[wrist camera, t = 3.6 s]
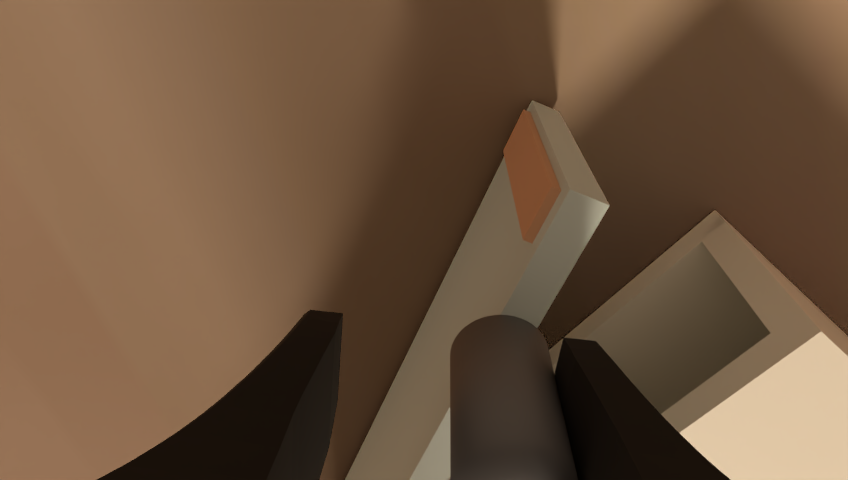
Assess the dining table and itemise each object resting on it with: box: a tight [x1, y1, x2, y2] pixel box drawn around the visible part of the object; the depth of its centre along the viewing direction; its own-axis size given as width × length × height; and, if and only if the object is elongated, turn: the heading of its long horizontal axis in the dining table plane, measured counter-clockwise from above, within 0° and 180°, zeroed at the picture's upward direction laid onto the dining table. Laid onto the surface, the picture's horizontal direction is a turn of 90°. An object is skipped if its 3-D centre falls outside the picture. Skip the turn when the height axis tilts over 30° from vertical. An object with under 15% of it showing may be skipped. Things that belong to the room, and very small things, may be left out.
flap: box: [345, 100, 610, 480], centre depth 16 cm, size 16×2×10 cm, turn 158°
